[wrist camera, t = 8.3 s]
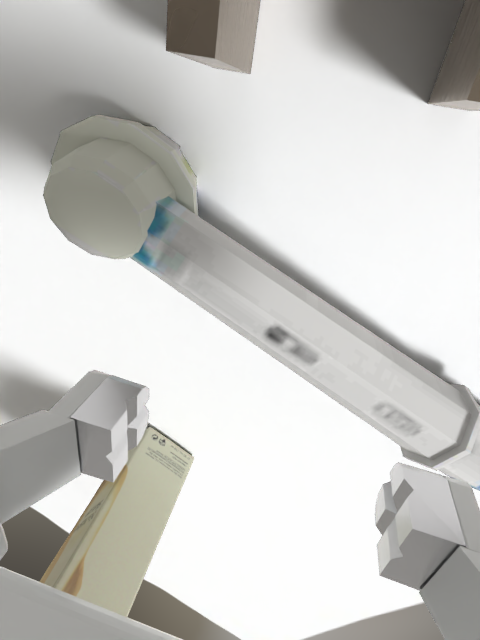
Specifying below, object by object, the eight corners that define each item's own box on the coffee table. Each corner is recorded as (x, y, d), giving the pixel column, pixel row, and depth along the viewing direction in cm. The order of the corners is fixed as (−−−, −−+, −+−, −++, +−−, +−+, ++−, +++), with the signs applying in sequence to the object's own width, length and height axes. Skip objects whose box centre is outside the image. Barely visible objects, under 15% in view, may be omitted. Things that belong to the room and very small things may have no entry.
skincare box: (150, 422, 27) (30, 620, 16) (197, 456, 27) (110, 666, 17) (114, 460, 30) (-4, 644, 20) (157, 489, 31) (64, 682, 20)
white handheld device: (452, 512, 19) (-27, 231, 13) (416, 413, 24) (68, 184, 18) (555, 468, 16) (7, 87, 10) (488, 368, 22) (107, 82, 16)
